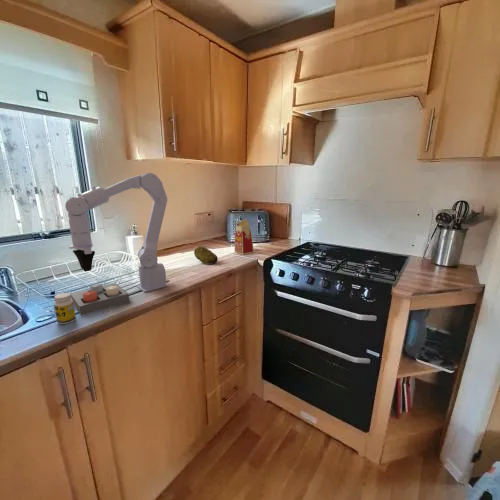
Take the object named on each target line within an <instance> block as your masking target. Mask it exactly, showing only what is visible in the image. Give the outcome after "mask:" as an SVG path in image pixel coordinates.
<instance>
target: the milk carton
mask: <svg viewBox="0 0 500 500" xmlns="http://www.w3.org/2000/svg"><path fill="white" fill-rule="evenodd" d="M250 227H251V226H250V223H249V221H248V218H245V219H243V220H239V221H237V222H236V227H235V234H234V235H235V236H234V252H235V253H236V254H238V255H247V254H249V255H250V254H254V241H253V236H252V231H251V228H250Z"/></svg>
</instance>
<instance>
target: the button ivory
mask: <svg viewBox="0 0 500 500" xmlns="http://www.w3.org/2000/svg"><path fill="white" fill-rule="evenodd" d="M106 295H107V297H111V296H115V295H119V288H118V286H110V287H107V288H106Z"/></svg>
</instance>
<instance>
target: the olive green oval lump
mask: <svg viewBox="0 0 500 500" xmlns="http://www.w3.org/2000/svg"><path fill="white" fill-rule="evenodd" d="M193 254H194V256H195V258H196V259H197V260H198V261H199V262H201V264H204V265H205V264H206V265H215V264H216V263H217V262H218V259H219V258H218V256H217V255H216V253H214V252H213V251H212V250H210V249H208V248H207V247H205V246H199V247H198V246H197V247H196V248H195V249H194V250H193Z"/></svg>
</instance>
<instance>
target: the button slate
mask: <svg viewBox="0 0 500 500" xmlns="http://www.w3.org/2000/svg"><path fill="white" fill-rule="evenodd" d="M103 286H104V285H103V283H95V284H91V285H90V286H89V289H90V291H96V292H97V293H101V292H104V291H103Z"/></svg>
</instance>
